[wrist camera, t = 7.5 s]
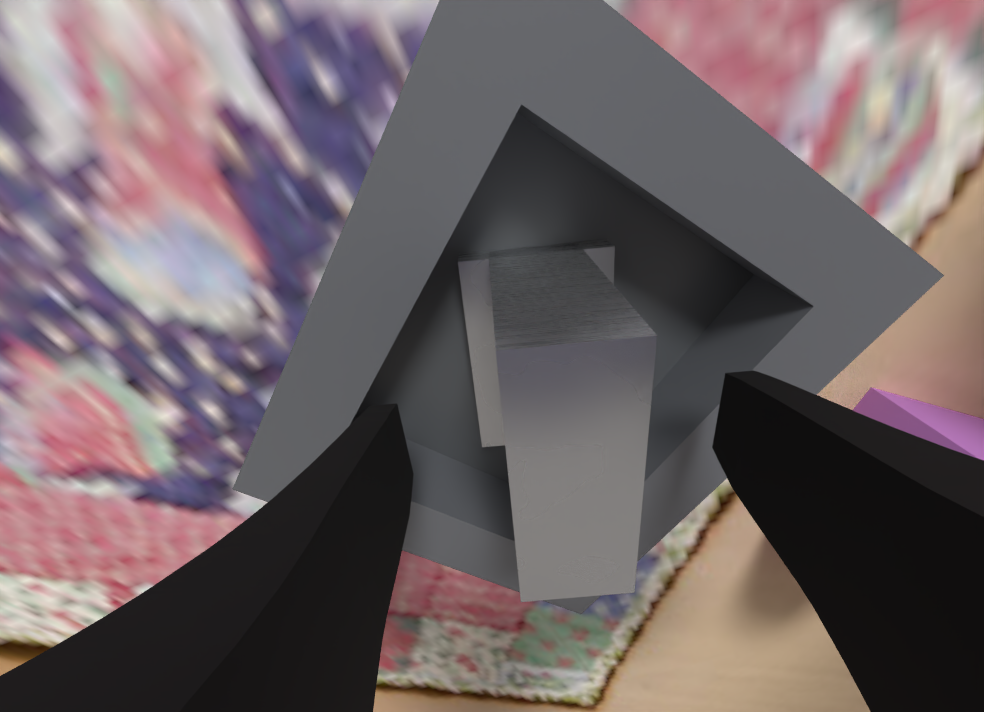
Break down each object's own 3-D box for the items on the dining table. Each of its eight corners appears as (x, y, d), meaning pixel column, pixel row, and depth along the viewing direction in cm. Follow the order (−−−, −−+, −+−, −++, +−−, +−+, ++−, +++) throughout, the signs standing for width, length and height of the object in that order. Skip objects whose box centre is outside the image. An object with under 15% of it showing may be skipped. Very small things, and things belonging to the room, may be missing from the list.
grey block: (606, 238, 12) (711, 330, 6) (601, 421, 15) (672, 589, 9) (459, 254, 12) (442, 356, 7) (481, 432, 15) (483, 605, 9)
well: (845, 244, 13) (943, 275, 10) (565, 542, 18) (581, 614, 15) (480, -35, 10) (481, -98, 7) (276, 424, 15) (232, 489, 12)
